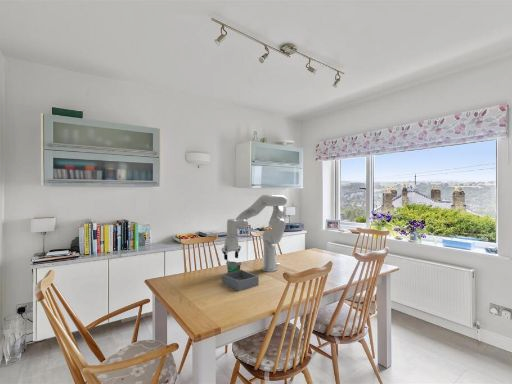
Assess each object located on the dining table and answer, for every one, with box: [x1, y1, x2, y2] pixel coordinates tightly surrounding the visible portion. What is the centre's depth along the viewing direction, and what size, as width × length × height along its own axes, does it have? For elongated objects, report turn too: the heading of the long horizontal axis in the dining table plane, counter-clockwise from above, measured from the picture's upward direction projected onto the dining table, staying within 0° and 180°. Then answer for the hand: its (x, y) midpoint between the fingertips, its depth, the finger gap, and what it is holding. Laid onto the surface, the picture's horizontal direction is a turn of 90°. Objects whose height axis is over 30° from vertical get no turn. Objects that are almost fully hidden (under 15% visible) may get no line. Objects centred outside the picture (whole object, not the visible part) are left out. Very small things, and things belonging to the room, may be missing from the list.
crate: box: [221, 269, 259, 292], centre depth 184 cm, size 17×19×6 cm
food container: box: [225, 259, 242, 273], centre depth 203 cm, size 12×6×10 cm, turn 62°
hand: (231, 258), depth 203 cm, fingers open, 9 cm apart
